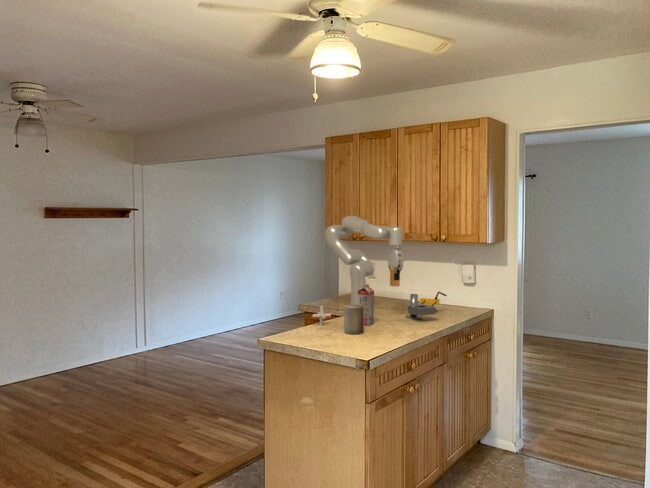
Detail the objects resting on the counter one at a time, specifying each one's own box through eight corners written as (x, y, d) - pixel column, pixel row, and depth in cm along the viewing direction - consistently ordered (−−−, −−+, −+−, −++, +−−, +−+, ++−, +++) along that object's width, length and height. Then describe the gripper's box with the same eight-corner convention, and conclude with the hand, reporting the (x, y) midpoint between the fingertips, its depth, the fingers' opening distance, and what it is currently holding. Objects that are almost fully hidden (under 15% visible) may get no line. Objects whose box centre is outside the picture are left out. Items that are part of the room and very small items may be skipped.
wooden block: (393, 286, 289) (394, 265, 289) (389, 285, 293) (390, 265, 293) (399, 286, 291) (399, 265, 290) (395, 285, 295) (396, 264, 294)
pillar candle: (367, 332, 255) (367, 303, 254) (354, 335, 248) (354, 305, 248) (353, 329, 262) (353, 301, 261) (340, 332, 255) (340, 303, 255)
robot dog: (445, 314, 309) (445, 292, 308) (417, 311, 318) (417, 290, 317) (447, 312, 314) (448, 291, 313) (419, 310, 323) (420, 289, 322)
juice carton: (373, 324, 276) (374, 284, 275) (368, 326, 270) (368, 285, 269) (362, 323, 279) (363, 283, 278) (357, 325, 274) (357, 284, 273)
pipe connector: (314, 326, 268) (315, 308, 267) (310, 323, 277) (310, 305, 277) (332, 326, 271) (333, 307, 270) (327, 322, 280) (328, 304, 280)
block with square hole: (417, 322, 282) (418, 297, 281) (400, 317, 298) (400, 293, 297) (435, 321, 286) (435, 296, 286) (417, 315, 303) (417, 292, 302)
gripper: (408, 248, 285) (408, 281, 286) (393, 247, 300) (392, 277, 301) (397, 249, 282) (396, 281, 283) (382, 247, 297) (381, 278, 298)
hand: (394, 279), depth 292 cm, fingers closed on wooden block, 4 cm apart
